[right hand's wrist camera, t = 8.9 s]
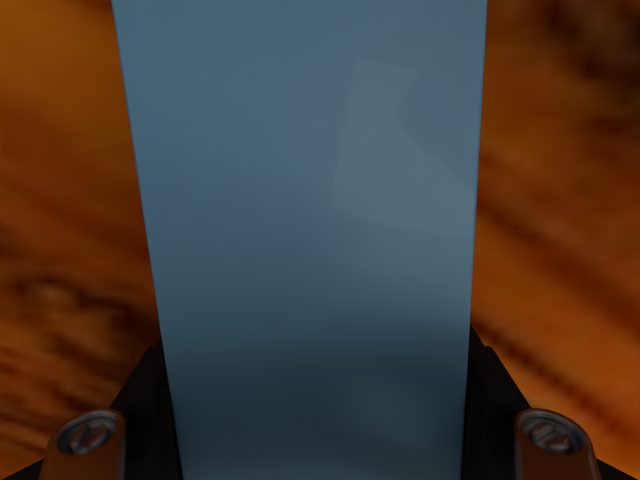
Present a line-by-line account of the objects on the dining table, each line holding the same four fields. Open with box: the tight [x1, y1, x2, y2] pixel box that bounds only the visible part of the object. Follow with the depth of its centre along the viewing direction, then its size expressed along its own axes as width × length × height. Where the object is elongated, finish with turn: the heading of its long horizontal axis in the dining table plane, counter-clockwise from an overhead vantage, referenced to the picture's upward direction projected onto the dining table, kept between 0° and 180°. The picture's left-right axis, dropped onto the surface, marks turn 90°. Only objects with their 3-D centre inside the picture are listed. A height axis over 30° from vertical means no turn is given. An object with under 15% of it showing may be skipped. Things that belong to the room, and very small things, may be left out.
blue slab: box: [111, 0, 487, 480], centre depth 12 cm, size 21×6×11 cm, turn 2°
